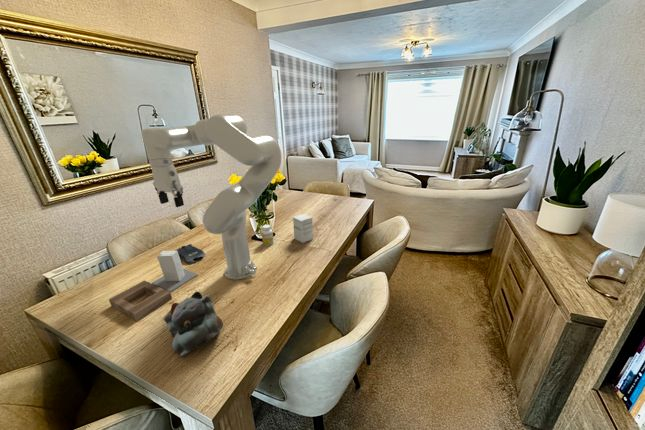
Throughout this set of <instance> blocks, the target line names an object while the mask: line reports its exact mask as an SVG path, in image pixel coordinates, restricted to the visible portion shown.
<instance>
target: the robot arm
mask: <svg viewBox="0 0 645 430" xmlns="http://www.w3.org/2000/svg"><path fill="white" fill-rule="evenodd" d="M247 132H248V126H247V123H246V121H245V120H244V119H243V118H242V117H241V116H239V115H236V114H215V115H212V116H210V117H209V118H204V119H200V120H198V121H197V122H196V123H195V124H192V125H184V126H175V127H174V126H172V127H163V128H162V127H161V128H160V127H158V128H157V127H156V128H155V127H154V128H151V127H150V128H144V129H142V130H141V136H142V140H143V143H144V147H145V150H146V155H147V158H148V162H149V165H150V168H151V172H152V173H151V174H152V177H153V182H152V184H153V187H154V190H155V191H156V194H157V195H158V198H159V202H160V204H161V205H163V204H167V203H169V201H170V200H169V197H168V193H171V194H172V196H173V201H174V202H173V203H174V205H175V208H180V207H182V206H185V203H184V199H183V193H184V191H183V190H184V187H183V186H182V184H181V180H180V176H179V174H178V171H177V169H176V167H175V165H174V161H173V159H172V153H171V151H173V150H179V149H185V148H190V147H197V146H202V145H203V146H208V147H209V146H213V145H216V146H217V148H219V149H221V150H222V151H224V152H225V153H226V154H228V155H229V156H230V157H232V158H233V159H234V160H236V161H237V162H238V163H241V165H244V166H249V169H247V171H246V172H245V174H244V175H243V176H242V178H241V179H240V180H239V181H238V182H236V183H234V184H232V185H230V186H228V187H227V188H224V189H222V190H221V191H220V192H219V193H218V194H217V196H216V197H215V198H214V199H213V201H212V202H211V203H210V205H209V206H208V207H207V209H206V210H205V212H204V214H203V217H202V224H203V227H204V229H205V230H206V231H207V232H208V233H210V234H213V235H220V234H221V240H222V244H223V245H222V246H223V251H224V257H225V262H226V268H225V269H224V276H225V278H227V279H229V280H232V281H233V280H235V281H236V280H243V279H246V278H249V277H250V276H251V275H256V273H257V270H258V266H256V264H255V263H254V262H253V261H252V260H251V253H250V248H249V241H248V232H247V210H248V209H249V208H250V207H252V206H253V205H254V204H255V203H256V201H257V200H258V199H259V197H261V194H263V192H264V191H265V190H266V189H267V187H268V186H269V184H270V183H271V182H272V181H273V180H274V178H275V177H276V175H277V174H278V172H279V170H280V167H281V165H282V151H281V147H280V145H279V142H277V140H276V139H275V138H273V137H272V136H270V135H266V134H261V135H254V136H248V135H247Z"/></svg>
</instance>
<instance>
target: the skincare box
mask: <svg viewBox="0 0 645 430" xmlns="http://www.w3.org/2000/svg"><path fill="white" fill-rule="evenodd" d="M156 258H157V260H158V262H159V266H160V268H161V271H162V275H163V276H164V278H165V281H181V280H182V279H183V277H184V276H185V274H184V270H183V269H184V268H183V264H182V261H181V257H180V256H179V254H178V251H175V250H162V251H161V252H160V253H159V254H158V255H157V256H156Z"/></svg>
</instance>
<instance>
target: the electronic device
mask: <svg viewBox="0 0 645 430" xmlns="http://www.w3.org/2000/svg"><path fill="white" fill-rule="evenodd" d="M174 251H178V254H179V257H180V259H182V260H183V261H184V262H185V263H189V264H190V263H192V264H193V263H198V262H199V261H201V260H203V259H204V258H205V256H206V253H205V252H204V250H202V249H200V248H198V247H196V246H194V245H193V244H192V243H188V244H187V245H182V246H181V247H180V246H179V247H178V248H176V249H175V250H174ZM200 257H201V259H199V258H200ZM198 259H199V260H198Z"/></svg>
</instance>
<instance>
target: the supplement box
mask: <svg viewBox="0 0 645 430" xmlns="http://www.w3.org/2000/svg"><path fill="white" fill-rule="evenodd" d="M292 220H293V224H292V225H293V237H294V239H295V240H297V242H298V241H299V243H301V244H304V243H307V242H308V241H311V240H313V239H314V232H313V231H314V230H313V226H314V225H313V217H312V216H310V215H307V214H305V213H302V214H298V215H295V216H293V218H292ZM306 241H307V242H306Z"/></svg>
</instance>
